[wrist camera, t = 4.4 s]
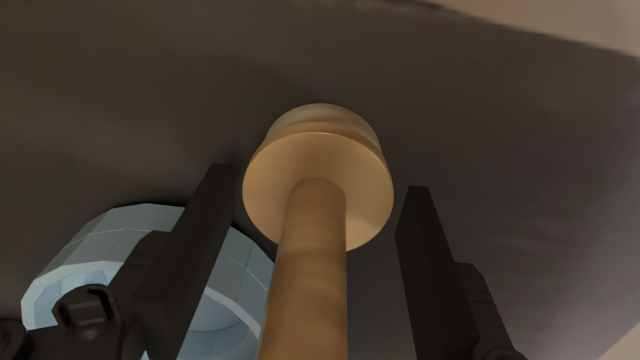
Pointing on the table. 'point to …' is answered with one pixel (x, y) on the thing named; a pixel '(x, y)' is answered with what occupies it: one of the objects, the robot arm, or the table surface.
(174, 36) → the table surface
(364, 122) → the brush
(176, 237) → the robot arm
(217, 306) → the bowl
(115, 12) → the table surface
